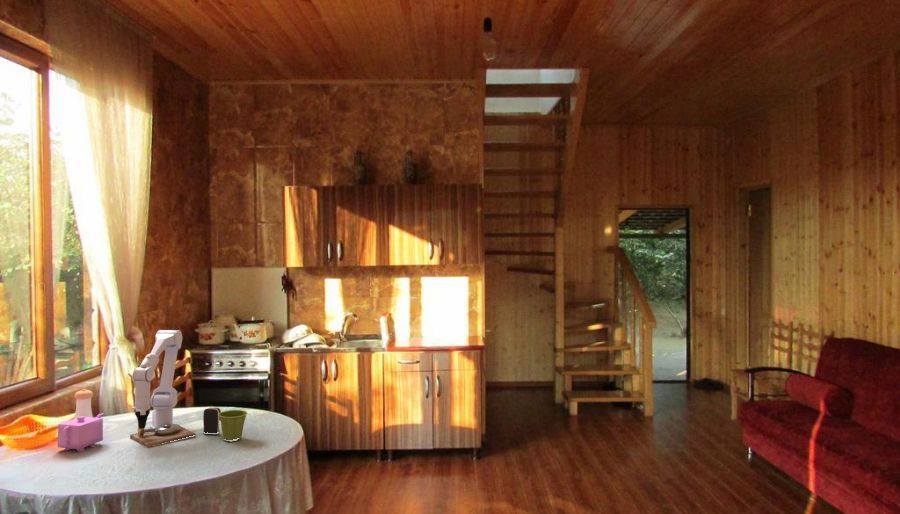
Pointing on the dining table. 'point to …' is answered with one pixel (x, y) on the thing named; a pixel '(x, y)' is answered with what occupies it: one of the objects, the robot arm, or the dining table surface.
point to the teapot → (80, 432)
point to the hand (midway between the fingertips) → (142, 428)
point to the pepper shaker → (83, 403)
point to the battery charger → (211, 420)
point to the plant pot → (232, 423)
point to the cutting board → (160, 437)
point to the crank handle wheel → (161, 429)
